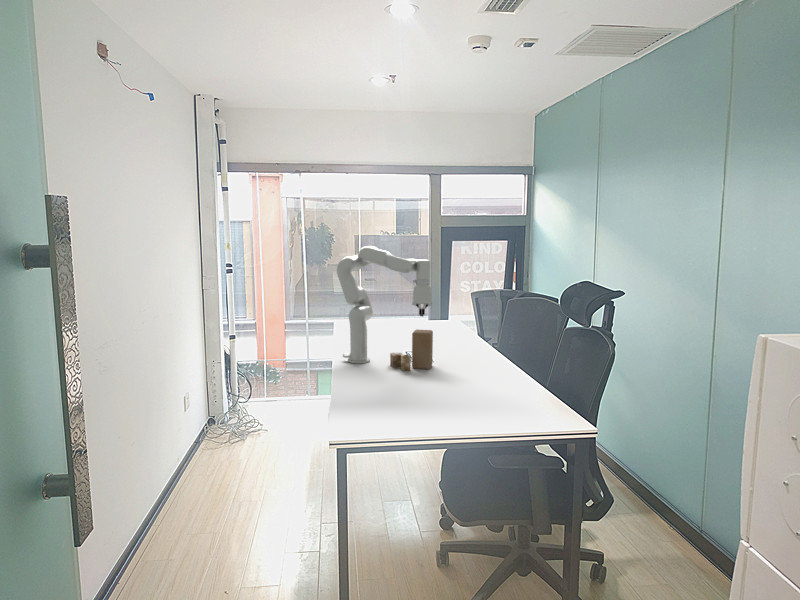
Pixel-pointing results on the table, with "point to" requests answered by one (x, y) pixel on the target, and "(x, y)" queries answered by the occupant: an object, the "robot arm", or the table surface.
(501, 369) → the table surface
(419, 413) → the table surface
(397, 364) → the walnut block
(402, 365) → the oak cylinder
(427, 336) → the block
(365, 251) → the robot arm
